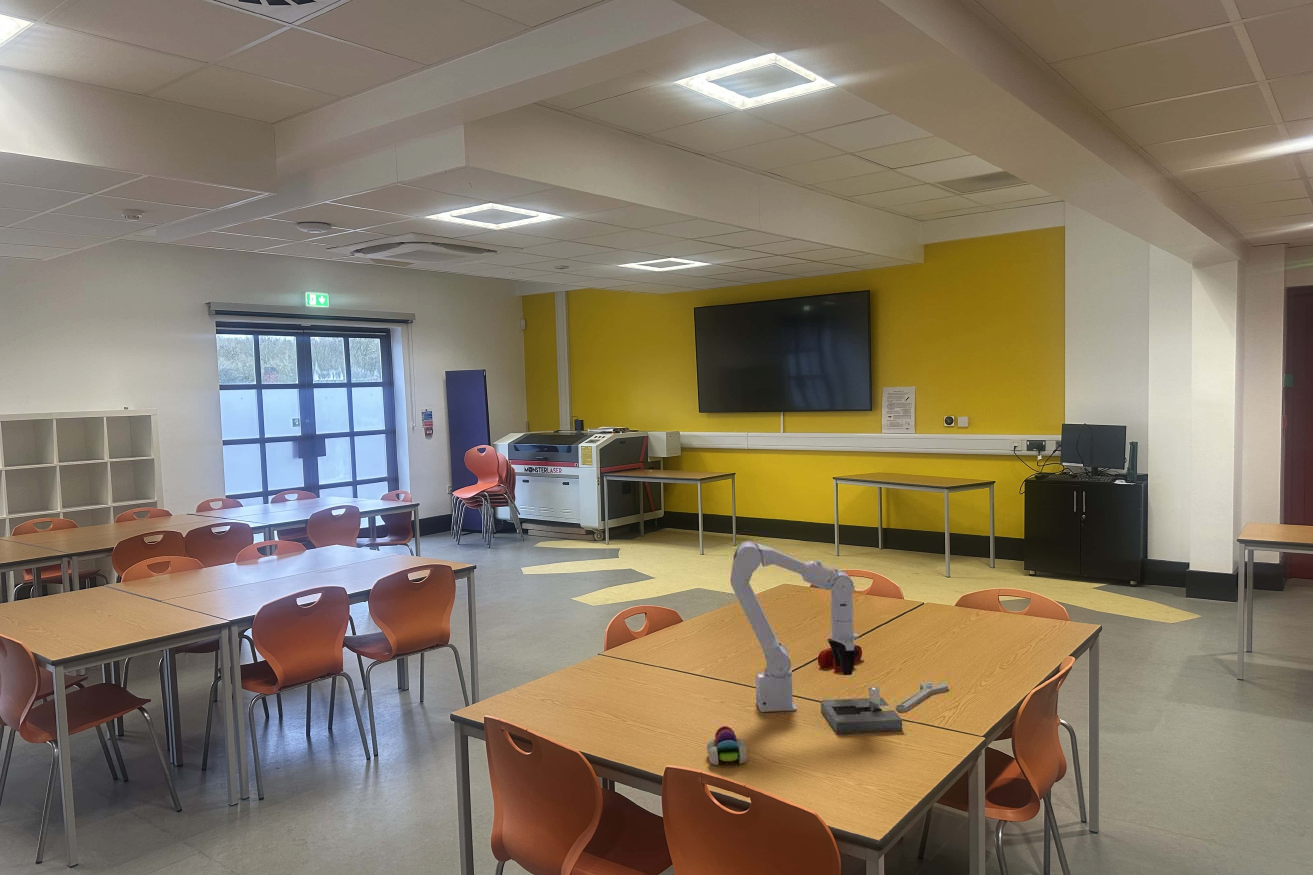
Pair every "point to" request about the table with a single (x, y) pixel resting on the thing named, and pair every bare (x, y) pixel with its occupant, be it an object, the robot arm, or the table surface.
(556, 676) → the table surface
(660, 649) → the table surface
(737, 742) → the colorful toy go-kart
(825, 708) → the keyhole plate
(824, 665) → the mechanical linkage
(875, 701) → the steel peg
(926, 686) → the adjustable wrench
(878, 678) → the table surface
